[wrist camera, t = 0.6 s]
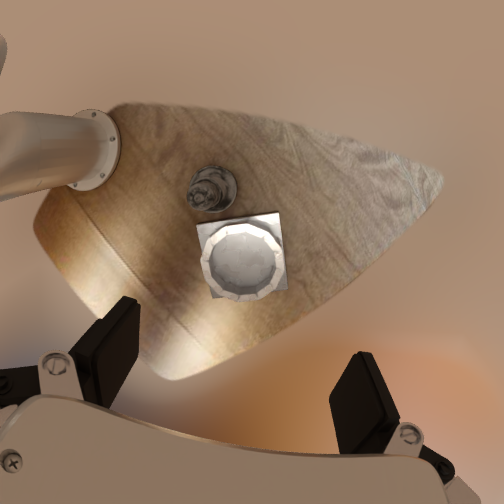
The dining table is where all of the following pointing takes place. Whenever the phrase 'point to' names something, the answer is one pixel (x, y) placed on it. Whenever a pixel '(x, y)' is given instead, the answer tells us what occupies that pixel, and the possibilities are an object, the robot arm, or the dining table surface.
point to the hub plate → (243, 256)
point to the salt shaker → (212, 189)
